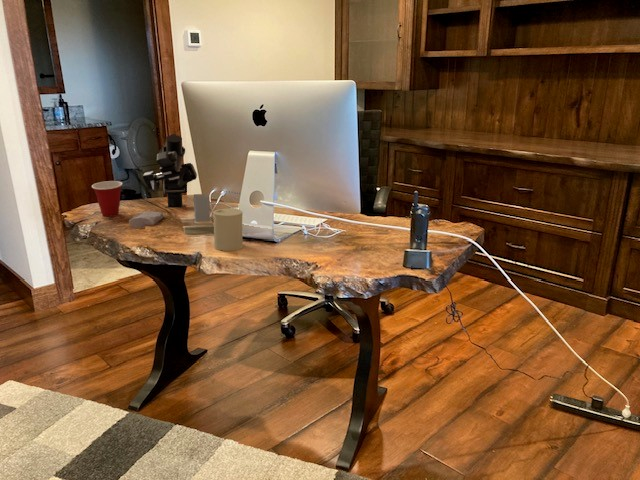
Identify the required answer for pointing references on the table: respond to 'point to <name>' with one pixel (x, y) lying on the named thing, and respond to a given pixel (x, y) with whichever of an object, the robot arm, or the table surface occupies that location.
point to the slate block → (201, 207)
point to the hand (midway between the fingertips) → (166, 188)
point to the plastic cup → (108, 196)
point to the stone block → (145, 219)
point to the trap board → (198, 226)
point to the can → (228, 229)
